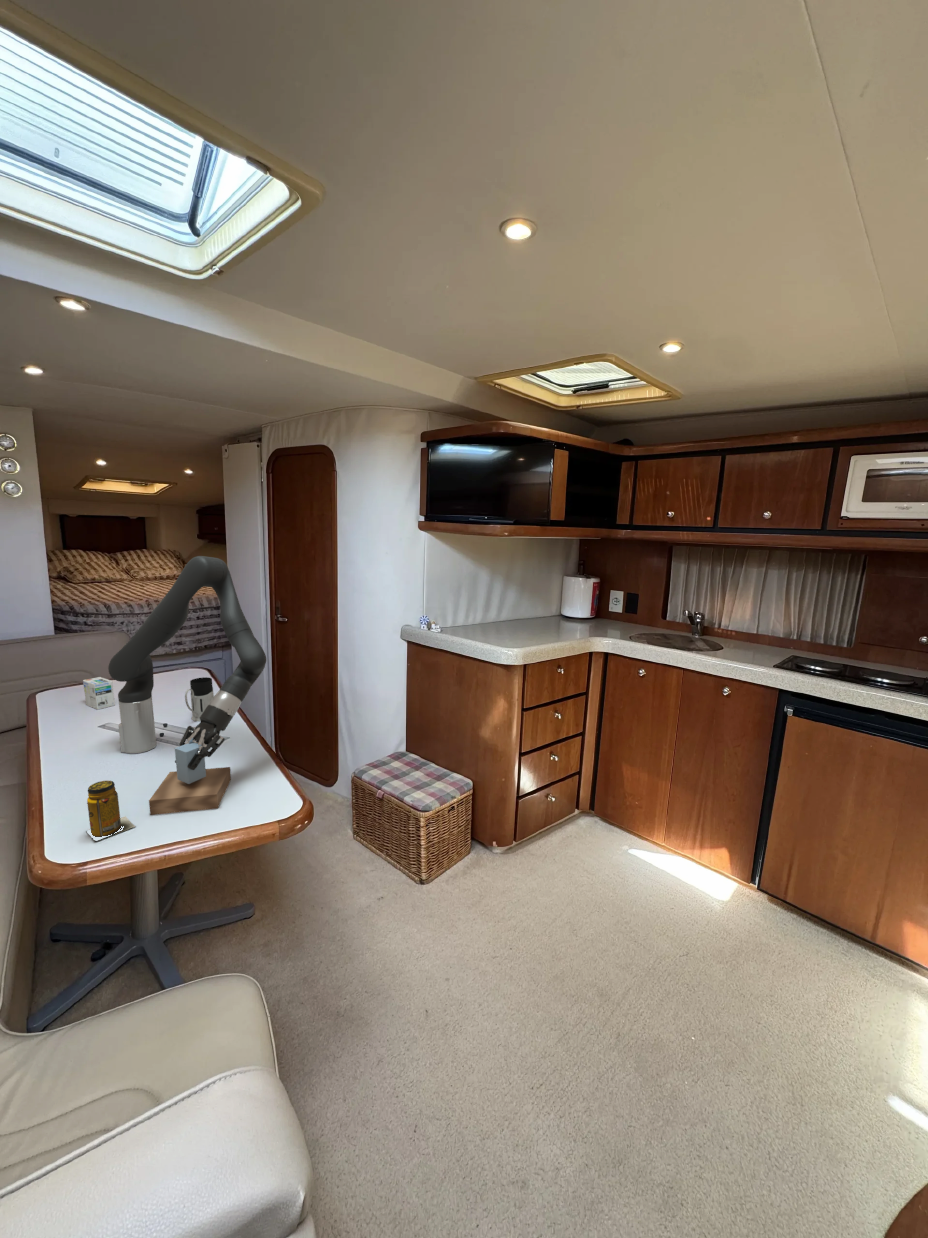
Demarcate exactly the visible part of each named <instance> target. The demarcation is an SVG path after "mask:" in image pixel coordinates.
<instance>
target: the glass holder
mask: <svg viewBox="0 0 928 1238" xmlns="http://www.w3.org/2000/svg"><path fill="white" fill-rule="evenodd" d="M189 686H190V688H188V689H186V691H185V693H184V701H185V704H186V705H185V706H186V707H187V709H188V710H189V711H191V714H192V715H191V721H192V720H193V722H201V720H200V716H201V715H202V713H203V712H204V710H205V709H206V707H207V706H208V704H209V703H210V702H211V700H212V699H213V697H214V696H215V695H214V687H213V679H212V677H207V676H206V677H204V676H203V677H197V678H192V679H190V681H189ZM189 692H190V704H191V706H190V705H189V703H188V693H189Z"/></svg>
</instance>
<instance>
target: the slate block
mask: <svg viewBox="0 0 928 1238" xmlns="http://www.w3.org/2000/svg"><path fill="white" fill-rule="evenodd" d="M195 742H196V741H195ZM195 742H193V743H190V744H185V745H182V746H180V745H179V746H177V747H174V756H175V757H174V758H175V760H176V763H175V766H176V771H177V779H178V780H180V781H182V782H185V783H187V784H190V783H193V782H195V781H197V780H199V779H202V778H204V777H206V769H207V768H206V759H205V758H206V757H205V758H202V760H201V761H200V763H199V765H198V766H197V767H196V768H195V770H191V769H189V768H188V767H187V766H188V764H189V763H190V761H191V760H192V758H193V757H194V755H195V754H196V752H197V750H198V749H199V747H198V744H197V743H195ZM203 749H204V748H203ZM203 749H202V750H203ZM196 755H197V754H196Z"/></svg>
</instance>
